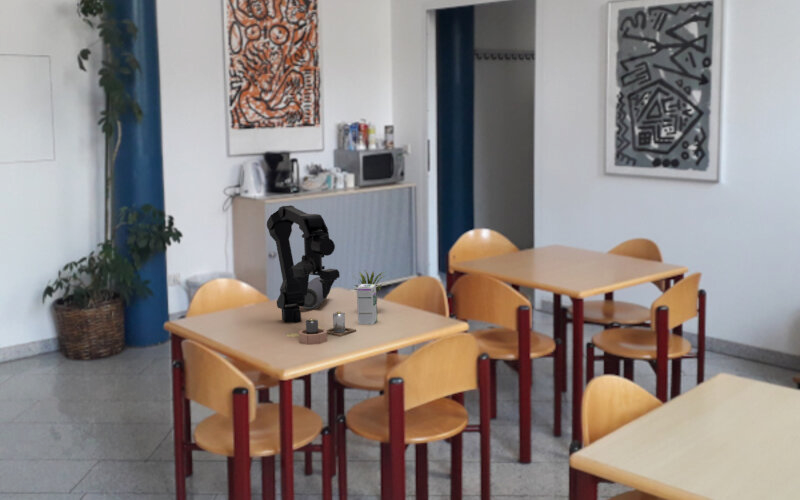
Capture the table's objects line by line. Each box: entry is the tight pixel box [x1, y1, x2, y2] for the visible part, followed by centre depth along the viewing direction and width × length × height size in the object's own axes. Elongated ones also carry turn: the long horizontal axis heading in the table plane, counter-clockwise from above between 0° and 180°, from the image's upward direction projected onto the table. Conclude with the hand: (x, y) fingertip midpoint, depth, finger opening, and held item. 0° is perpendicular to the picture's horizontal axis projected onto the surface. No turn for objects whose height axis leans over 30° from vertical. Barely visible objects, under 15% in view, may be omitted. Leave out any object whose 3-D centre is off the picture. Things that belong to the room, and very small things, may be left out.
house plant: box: [353, 270, 386, 301], centre depth 339 cm, size 14×14×16 cm
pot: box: [298, 328, 328, 345], centre depth 297 cm, size 9×9×4 cm
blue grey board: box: [286, 325, 324, 338], centre depth 309 cm, size 8×18×2 cm, turn 142°
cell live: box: [332, 311, 346, 333], centre depth 306 cm, size 4×4×8 cm
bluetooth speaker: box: [300, 276, 332, 310], centre depth 352 cm, size 23×9×10 cm, turn 172°
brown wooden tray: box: [326, 327, 357, 338], centre depth 307 cm, size 8×8×2 cm
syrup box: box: [356, 283, 378, 326], centre depth 319 cm, size 6×6×14 cm
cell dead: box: [305, 318, 319, 334], centre depth 297 cm, size 4×4×8 cm
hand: (314, 297), depth 307 cm, fingers open, 9 cm apart
